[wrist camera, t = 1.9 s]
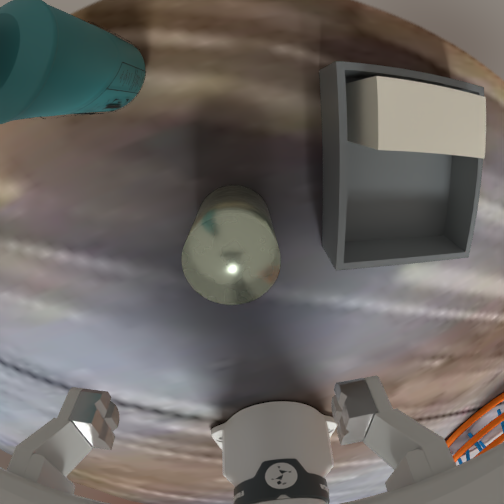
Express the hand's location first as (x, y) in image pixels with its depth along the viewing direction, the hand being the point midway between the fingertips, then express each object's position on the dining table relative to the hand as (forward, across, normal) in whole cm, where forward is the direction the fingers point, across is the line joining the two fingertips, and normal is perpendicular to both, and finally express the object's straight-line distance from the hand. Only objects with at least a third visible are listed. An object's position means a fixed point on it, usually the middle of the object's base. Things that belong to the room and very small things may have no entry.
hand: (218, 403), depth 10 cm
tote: (+20, -15, -5) cm, 25 cm away
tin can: (+20, 0, 0) cm, 20 cm away
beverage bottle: (+20, +9, -14) cm, 26 cm away
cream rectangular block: (+19, -15, -9) cm, 26 cm away
